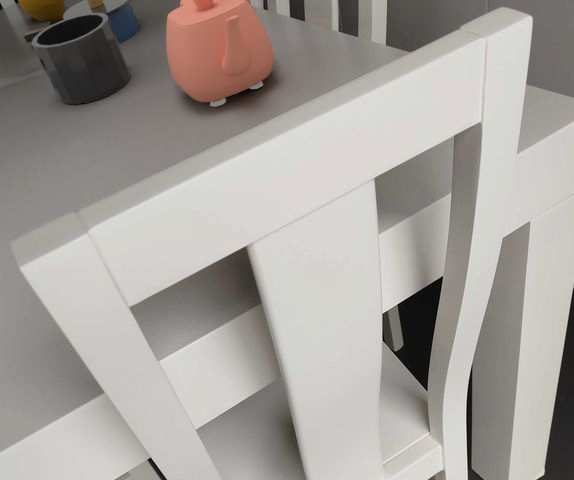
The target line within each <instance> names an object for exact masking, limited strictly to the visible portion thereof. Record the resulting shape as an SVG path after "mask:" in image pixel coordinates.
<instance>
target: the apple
mask: <svg viewBox="0 0 574 480" xmlns="http://www.w3.org/2000/svg"><path fill="white" fill-rule="evenodd" d="M17 1H18V4H19V6H20V7H21V8H22V11H24V12H25V13H26V14H28V15H29V16H31V17H32V18H34V19H35V20H37V21H39V22H40V21H41V22H43V21H48V20H50V22H49V25H53V24H55V23H58V22H60V21H62V20H63V15H64V13H65V5H66V3H65V0H17Z"/></svg>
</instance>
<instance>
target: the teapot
mask: <svg viewBox="0 0 574 480" xmlns="http://www.w3.org/2000/svg"><path fill="white" fill-rule="evenodd" d="M165 31H166V32H165V33H166V35H165V36H166V37H165V39H166V41H165V43H166V44H165V45H166V46H165V47H166V57H167V62H168V67H169V71H170V73H171V76H172V78H173V80H174V82H175V84H176V85H177V86H178V87H179V88H180V89H181V90H182V91H183V92H184V93H185V94H186V95H187V96H189V97H190V98H191V99H193V100H194V101H197V102H199V103H209V102H210V101H213V102H215V101H219V100H222V99H223V98H225V97H226V98H228V97H230V96H232V95H236V94H238V93H241V92H243V91H246V90H248V88H249V87H251V86H253V85H256V84H258V83H259V82H260V81H264V80H265V79H266V78H267V77H269V76H270V75H271V72H272V70H273V66H274V62H275V52H274V49H273V45H272V42H271V40H270V39H271V38H270V37H269V35H268V32H267V30H266V27H264V25H263V23H262V21H261V19H260V18H259V16H258V14H257V13H256V12H255V10H254V8H253V7H252V6H251V4H250V3H249V2H248V0H180V2H179V6H178V7H177V8H175V9H173V10H171V11H170V12H169V13H168V14H167V17H166V30H165Z"/></svg>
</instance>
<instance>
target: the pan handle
mask: <svg viewBox="0 0 574 480" xmlns="http://www.w3.org/2000/svg"><path fill="white" fill-rule="evenodd" d="M49 26H51V25H50V24H49V25H46V26H43V27H40V28H36V29H34V30H30V31H26V32H24V33H23V38H24V41H25V42H26V44H28V43H32V41H33V38H34V37H35V36H36V35H37V34H38V33H40V32H41V31H43V30H44V29H46V28H48V27H49Z"/></svg>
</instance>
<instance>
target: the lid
mask: <svg viewBox="0 0 574 480" xmlns="http://www.w3.org/2000/svg"><path fill="white" fill-rule="evenodd" d="M132 1H133V0H80V1H79V2H77V3H75V4H74V5H72V6H71V7H69V8H68V9H67V10H65V11H64V15H63V18H62V20H64V19H68V18H71V17H74V16H77V15H82V14H87V13H103V14H105V15H107V16H110V15H113V14H115V13H117V12H119V11H120V10H122V9H123V8H125V7H126V6H128V5H129V4H130V2H131V3H132Z"/></svg>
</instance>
